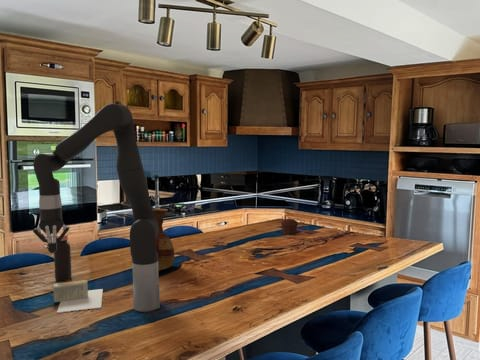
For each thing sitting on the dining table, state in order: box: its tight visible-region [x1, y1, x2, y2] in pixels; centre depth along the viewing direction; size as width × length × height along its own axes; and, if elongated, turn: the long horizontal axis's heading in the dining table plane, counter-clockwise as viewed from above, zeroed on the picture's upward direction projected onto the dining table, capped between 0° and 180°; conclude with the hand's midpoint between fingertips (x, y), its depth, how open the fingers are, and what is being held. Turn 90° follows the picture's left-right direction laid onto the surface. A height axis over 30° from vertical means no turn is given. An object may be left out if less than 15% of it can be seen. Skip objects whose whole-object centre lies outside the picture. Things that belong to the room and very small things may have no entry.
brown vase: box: [152, 207, 175, 272], centre depth 196 cm, size 20×20×30 cm
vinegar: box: [53, 233, 72, 282], centre depth 183 cm, size 7×7×20 cm
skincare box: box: [53, 279, 89, 303], centre depth 159 cm, size 6×4×12 cm
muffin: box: [280, 218, 299, 236], centre depth 274 cm, size 12×11×10 cm
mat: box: [56, 288, 104, 314], centre depth 158 cm, size 15×20×1 cm
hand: (52, 252), depth 153 cm, fingers closed
